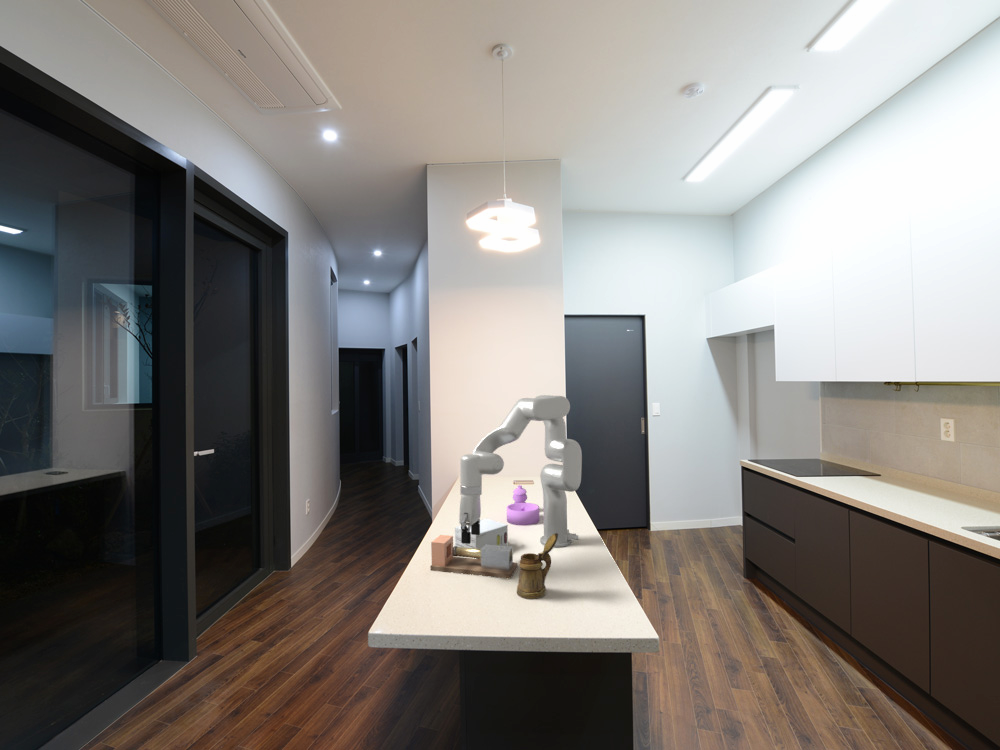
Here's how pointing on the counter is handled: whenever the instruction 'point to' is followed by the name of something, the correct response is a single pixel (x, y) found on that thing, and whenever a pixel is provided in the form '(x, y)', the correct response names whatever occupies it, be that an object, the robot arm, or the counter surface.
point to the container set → (522, 509)
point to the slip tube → (468, 552)
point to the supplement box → (485, 535)
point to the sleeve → (496, 557)
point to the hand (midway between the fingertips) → (470, 538)
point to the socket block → (442, 550)
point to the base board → (472, 568)
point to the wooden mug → (535, 571)
